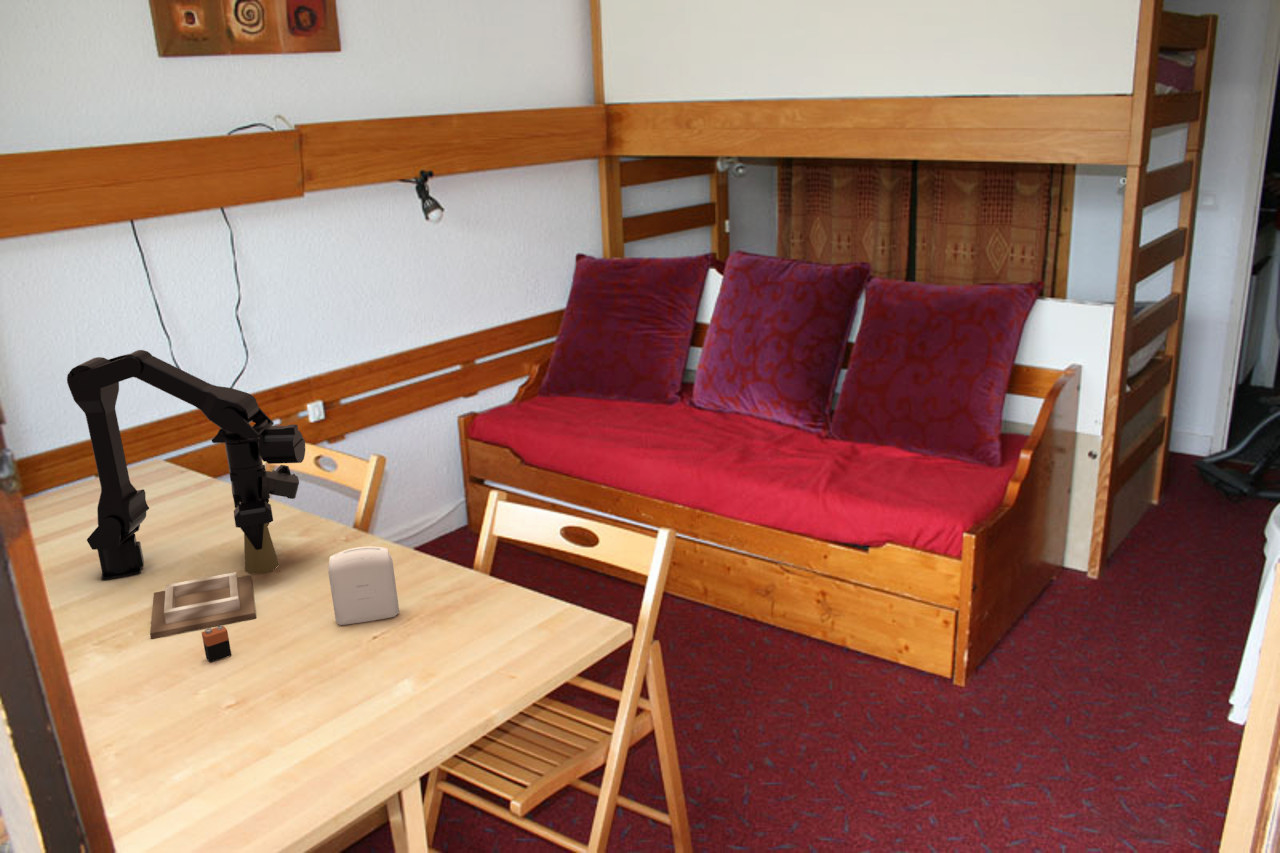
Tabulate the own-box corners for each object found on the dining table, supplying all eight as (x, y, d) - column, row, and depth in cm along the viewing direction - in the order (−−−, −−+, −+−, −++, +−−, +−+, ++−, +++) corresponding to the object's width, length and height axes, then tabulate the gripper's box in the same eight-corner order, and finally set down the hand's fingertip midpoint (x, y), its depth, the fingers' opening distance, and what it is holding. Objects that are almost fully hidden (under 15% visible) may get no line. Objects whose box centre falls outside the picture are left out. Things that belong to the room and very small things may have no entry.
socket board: (151, 638, 169) (147, 622, 168) (154, 597, 183) (151, 582, 182) (256, 618, 175) (253, 601, 174) (251, 579, 189) (249, 564, 188)
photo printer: (335, 628, 170) (325, 558, 166) (335, 616, 174) (326, 547, 170) (399, 619, 172) (391, 549, 169) (399, 607, 176) (391, 539, 173)
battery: (205, 658, 162) (200, 629, 161) (227, 650, 164) (222, 621, 163) (210, 663, 161) (204, 634, 159) (232, 655, 163) (227, 626, 161)
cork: (284, 560, 196) (276, 505, 193) (270, 574, 191) (261, 518, 187) (253, 559, 197) (244, 505, 194) (238, 574, 191) (229, 517, 188)
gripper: (296, 472, 182) (308, 555, 187) (288, 442, 199) (299, 519, 204) (228, 483, 178) (242, 567, 183) (225, 451, 195) (238, 529, 200)
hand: (258, 544), depth 192 cm, fingers closed on cork, 4 cm apart
